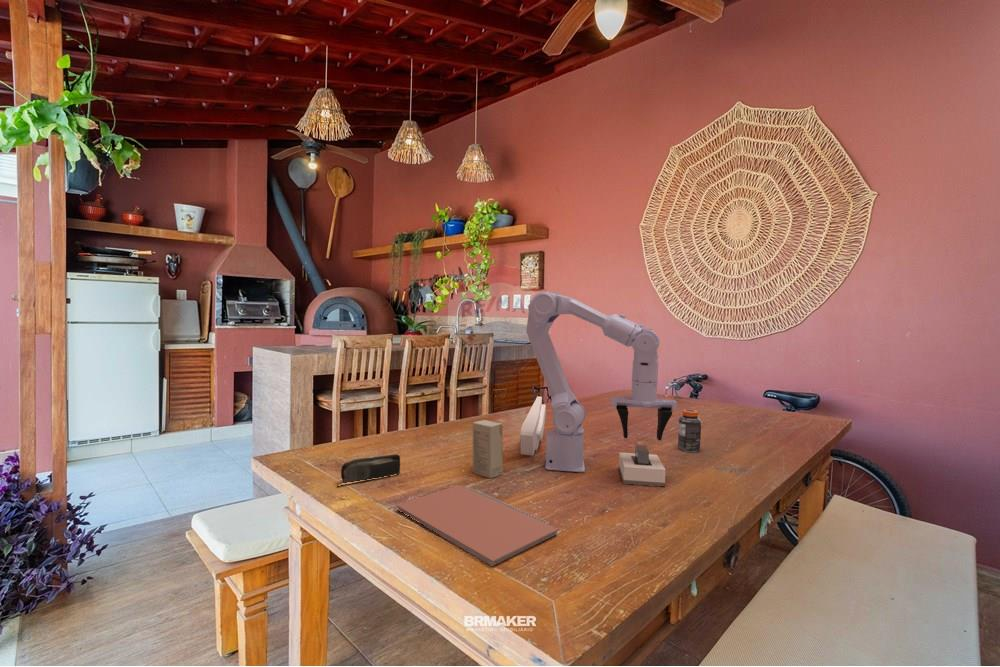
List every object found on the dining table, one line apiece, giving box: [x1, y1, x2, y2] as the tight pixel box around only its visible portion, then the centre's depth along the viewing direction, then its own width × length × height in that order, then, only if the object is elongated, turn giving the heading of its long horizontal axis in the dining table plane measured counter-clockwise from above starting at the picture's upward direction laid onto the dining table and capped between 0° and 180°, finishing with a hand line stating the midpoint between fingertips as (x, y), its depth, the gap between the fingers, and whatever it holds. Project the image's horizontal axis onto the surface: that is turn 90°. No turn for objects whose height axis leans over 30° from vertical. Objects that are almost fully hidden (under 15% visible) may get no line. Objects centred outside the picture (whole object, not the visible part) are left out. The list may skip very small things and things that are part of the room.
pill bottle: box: [677, 408, 702, 453], centre depth 138 cm, size 6×6×11 cm
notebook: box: [395, 484, 559, 567], centre depth 90 cm, size 27×17×2 cm, turn 44°
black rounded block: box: [338, 454, 401, 484], centre depth 110 cm, size 5×3×15 cm
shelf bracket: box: [520, 395, 547, 456], centre depth 139 cm, size 6×25×13 cm, turn 168°
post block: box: [618, 452, 667, 487], centre depth 115 cm, size 9×11×4 cm
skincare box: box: [472, 419, 504, 479], centre depth 115 cm, size 6×4×12 cm
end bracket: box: [634, 444, 650, 465], centre depth 115 cm, size 2×5×6 cm, turn 172°
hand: (642, 438), depth 115 cm, fingers open, 7 cm apart
